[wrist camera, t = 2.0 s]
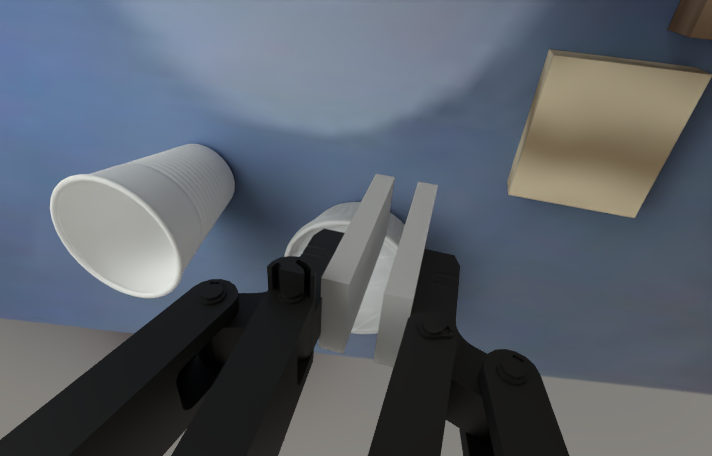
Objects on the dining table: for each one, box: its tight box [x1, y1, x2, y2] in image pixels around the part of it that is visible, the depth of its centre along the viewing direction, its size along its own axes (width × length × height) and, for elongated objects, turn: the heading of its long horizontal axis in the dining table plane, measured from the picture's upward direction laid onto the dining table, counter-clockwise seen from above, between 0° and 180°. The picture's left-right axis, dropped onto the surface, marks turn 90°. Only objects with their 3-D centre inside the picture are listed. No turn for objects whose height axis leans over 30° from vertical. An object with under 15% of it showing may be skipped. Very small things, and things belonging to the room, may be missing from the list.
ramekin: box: [284, 202, 405, 334], centre depth 34 cm, size 11×11×5 cm
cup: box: [50, 144, 235, 298], centre depth 32 cm, size 10×10×11 cm
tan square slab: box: [507, 49, 712, 218], centre depth 26 cm, size 9×8×2 cm
